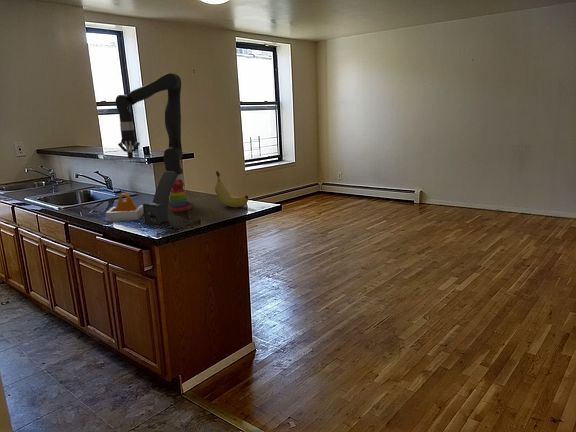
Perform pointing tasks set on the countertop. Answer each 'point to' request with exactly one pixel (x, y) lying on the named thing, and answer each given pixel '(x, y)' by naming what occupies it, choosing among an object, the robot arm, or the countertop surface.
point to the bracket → (124, 214)
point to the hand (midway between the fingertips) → (130, 158)
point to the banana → (228, 195)
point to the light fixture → (160, 200)
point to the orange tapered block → (125, 203)
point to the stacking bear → (178, 197)
